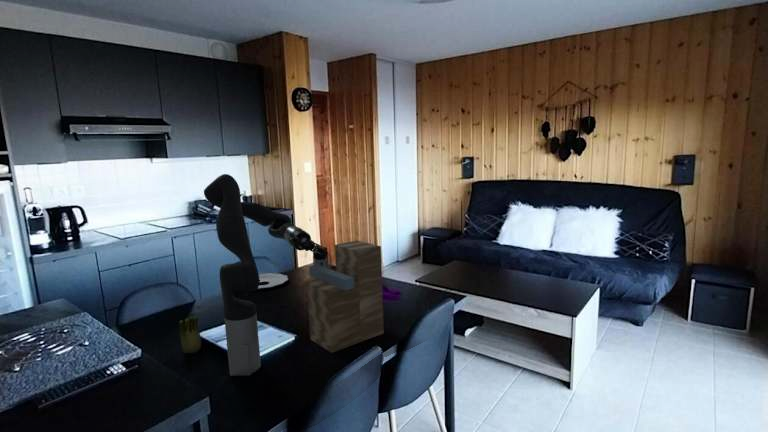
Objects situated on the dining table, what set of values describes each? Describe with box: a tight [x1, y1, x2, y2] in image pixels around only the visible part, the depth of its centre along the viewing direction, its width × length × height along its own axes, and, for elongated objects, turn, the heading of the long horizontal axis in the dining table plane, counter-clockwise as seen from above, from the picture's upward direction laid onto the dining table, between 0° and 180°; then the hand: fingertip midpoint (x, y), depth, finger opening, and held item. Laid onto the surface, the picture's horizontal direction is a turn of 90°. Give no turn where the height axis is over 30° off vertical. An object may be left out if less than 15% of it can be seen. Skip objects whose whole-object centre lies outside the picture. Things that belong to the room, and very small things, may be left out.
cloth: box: [382, 283, 403, 303], centre depth 191 cm, size 22×19×6 cm
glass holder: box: [312, 246, 332, 269], centre depth 222 cm, size 9×14×15 cm, turn 40°
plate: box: [256, 273, 289, 291], centre depth 216 cm, size 25×25×2 cm
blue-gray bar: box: [308, 265, 354, 291], centre depth 145 cm, size 23×4×4 cm, turn 39°
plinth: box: [306, 240, 385, 354], centre depth 149 cm, size 14×22×32 cm, turn 129°
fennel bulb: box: [178, 316, 202, 354], centre depth 142 cm, size 6×5×12 cm
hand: (317, 251), depth 154 cm, fingers open, 8 cm apart
